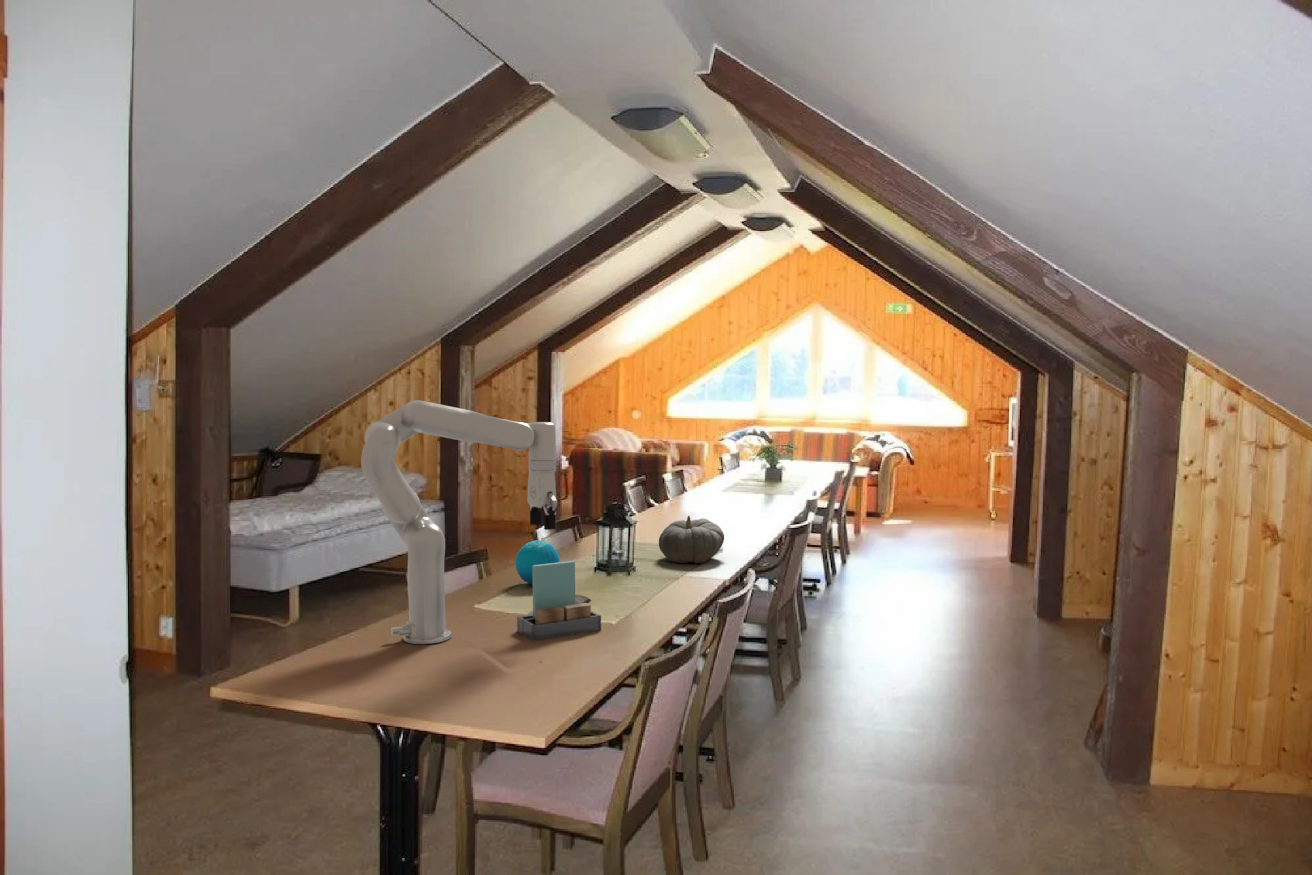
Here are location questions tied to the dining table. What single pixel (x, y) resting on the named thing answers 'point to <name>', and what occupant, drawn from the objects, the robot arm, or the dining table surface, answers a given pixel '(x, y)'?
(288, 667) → the dining table surface
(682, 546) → the gourd
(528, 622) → the metal rack
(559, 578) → the teal board
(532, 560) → the decorative orb
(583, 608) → the right offcut block
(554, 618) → the left offcut block
